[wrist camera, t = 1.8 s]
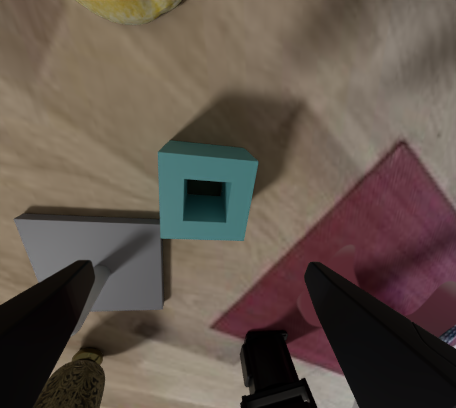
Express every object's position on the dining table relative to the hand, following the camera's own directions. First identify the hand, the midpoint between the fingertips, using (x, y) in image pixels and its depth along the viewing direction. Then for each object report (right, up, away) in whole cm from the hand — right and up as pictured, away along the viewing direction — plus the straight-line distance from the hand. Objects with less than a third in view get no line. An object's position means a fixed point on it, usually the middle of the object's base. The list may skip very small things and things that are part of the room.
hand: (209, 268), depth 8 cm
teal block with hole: (-1, +5, +10) cm, 11 cm away
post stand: (-12, -4, +13) cm, 18 cm away
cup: (-18, -18, +19) cm, 32 cm away
